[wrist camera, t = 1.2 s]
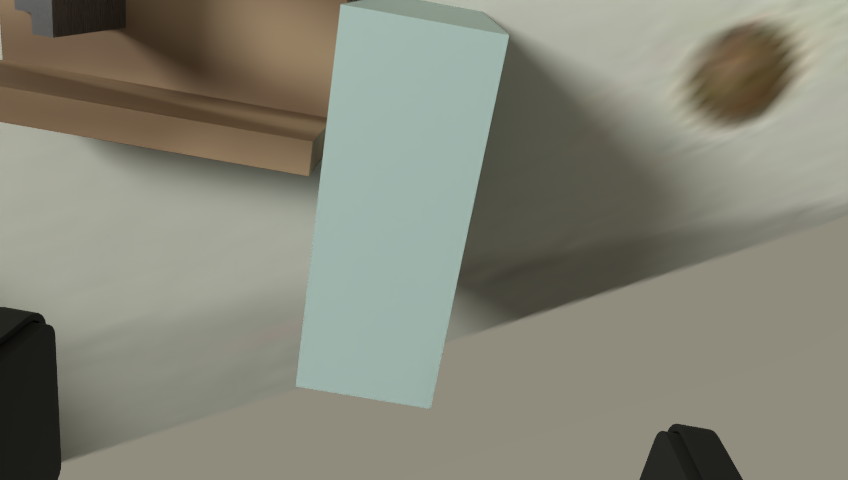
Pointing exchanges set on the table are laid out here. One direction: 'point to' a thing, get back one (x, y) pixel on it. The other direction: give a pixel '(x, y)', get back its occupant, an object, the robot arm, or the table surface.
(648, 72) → the table surface
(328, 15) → the shelf
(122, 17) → the bookend
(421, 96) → the book
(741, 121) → the table surface
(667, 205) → the table surface
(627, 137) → the table surface
